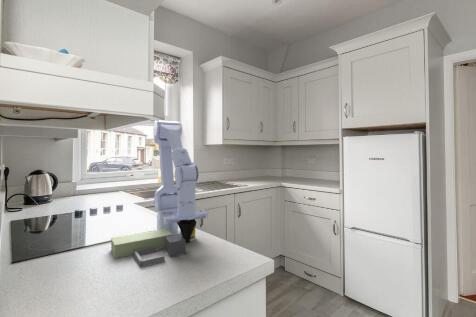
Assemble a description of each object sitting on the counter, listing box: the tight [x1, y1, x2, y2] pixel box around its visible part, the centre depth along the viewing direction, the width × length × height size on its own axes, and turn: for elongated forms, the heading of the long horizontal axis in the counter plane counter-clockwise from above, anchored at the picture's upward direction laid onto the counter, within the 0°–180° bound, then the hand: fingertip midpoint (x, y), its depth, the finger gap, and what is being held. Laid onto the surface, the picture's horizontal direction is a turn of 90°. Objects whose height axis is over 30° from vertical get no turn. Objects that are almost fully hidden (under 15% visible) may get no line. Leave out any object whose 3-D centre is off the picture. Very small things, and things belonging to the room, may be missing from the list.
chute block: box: [164, 234, 187, 258], centre depth 81 cm, size 6×5×4 cm
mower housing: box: [110, 229, 173, 268], centre depth 80 cm, size 18×18×4 cm
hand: (186, 242), depth 83 cm, fingers closed
